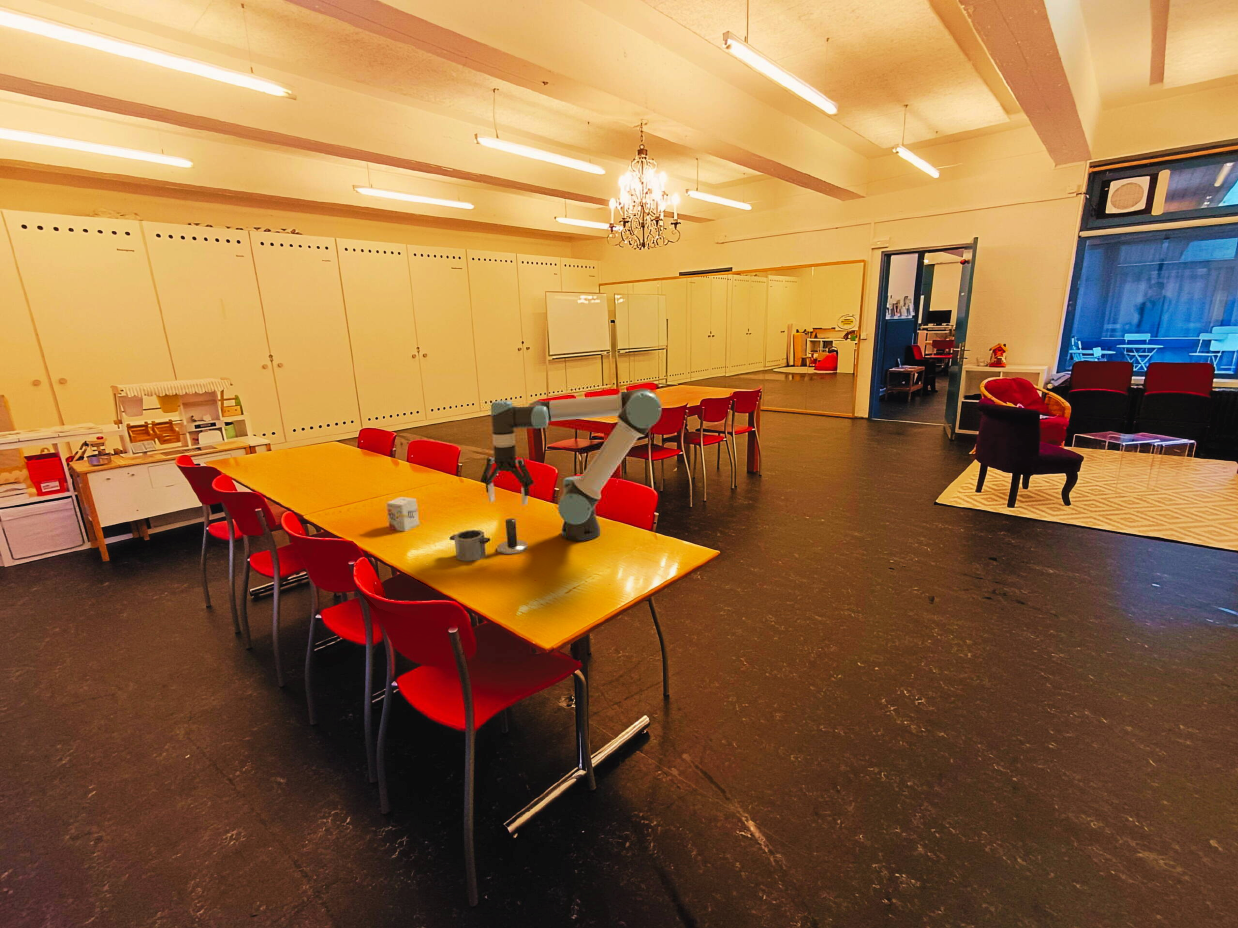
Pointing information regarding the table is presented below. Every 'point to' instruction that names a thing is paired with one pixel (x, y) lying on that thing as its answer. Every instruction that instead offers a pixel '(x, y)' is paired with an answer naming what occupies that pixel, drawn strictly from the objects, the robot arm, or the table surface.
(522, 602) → the table surface
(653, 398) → the robot arm
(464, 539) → the pot
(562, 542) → the table surface
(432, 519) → the table surface
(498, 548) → the lid
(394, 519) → the ink box
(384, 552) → the table surface
